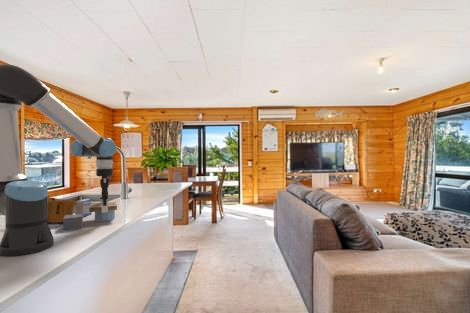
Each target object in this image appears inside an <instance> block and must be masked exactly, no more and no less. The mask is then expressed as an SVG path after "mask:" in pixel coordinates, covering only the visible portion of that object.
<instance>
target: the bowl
mask: <svg viewBox="0 0 470 313" xmlns="http://www.w3.org/2000/svg"><path fill="white" fill-rule="evenodd" d="M115 211H116V210H110V211H108V212H104V213H102V211H98V212H94V222H110V221H113V220H115V219H116V218H115V217H116V216H115Z"/></svg>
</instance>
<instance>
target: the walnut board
mask: <svg viewBox="0 0 470 313" xmlns="http://www.w3.org/2000/svg"><path fill="white" fill-rule="evenodd" d="M110 210H115V211H116V210H118V206H117V202H116V201H113V202H109V201H108V211H110ZM98 211H102V203H101V202H100V203H99V202H97V203H92V204H90V208H89V212H92V213H95V212H98Z"/></svg>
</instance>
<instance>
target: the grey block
mask: <svg viewBox="0 0 470 313" xmlns="http://www.w3.org/2000/svg"><path fill="white" fill-rule="evenodd" d="M62 223H63V225H62V226H63V227H62V228H63V231H67V229H68V230H75V229H77V230H78V229H83V223H84V217H83V214H75V213H74V214H73V215H65V217H64V218H63V222H62Z"/></svg>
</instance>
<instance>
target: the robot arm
mask: <svg viewBox="0 0 470 313" xmlns="http://www.w3.org/2000/svg"><path fill="white" fill-rule="evenodd" d="M22 103H23V104H24V105H25V106H27V107H31V108H32V107H33V108H35V109H36V110H37V111H39V113H41V114H42V115H43V116H45V117H47V118H48V119H49V120H50V121H51V122H53V123H54V124H55V125H56V126H58V127H60V128H61V129H62V130H63V131H65V132H66V133H67V134H69V135H70V137H71V136H72V137H73V138H74V141H72V142H71V143H70V148H69V149H70V154H71V155H72V156H74V157H79V158H82V157H85V158H87V157H88V158H91V157H94V158H95V157H96V160H95V161H96V162H95V164H96V165H95V168H97V169H96V171H95V174H96V175H95V176H97V177H101V178H100V179H99V180H100V182H99V183H100V188H101V192H100V193H101V197H99V198H100V199H99V200H101V202H100V203H102V213H104V212H108V203H109V190H108V188H109V183H110V180H109V178H108V177H111V176H113V175H114V171H113V168H114V167H113V165H114V164H115V161H114V160H113V157H114V155H115V153H116V152H117V145H116V143H115V141H113V139H112V138H110V137H103V136H101V135H100V134H99V133H98V132H97V131H96V130H94V129H93V128H92V127H91V126H90V125H88V123H87V122H85V121H84V120H83V119H81V117H79V116H78V115H77V114H75V113H74V112H73V110H71V109H70V108H69V107H67V106H66V105H65V104H64V103H63V102H61V101H60V100H59V99H58V98H57V97H55V96H54V95H53V94H52V93H51V92H50V87H49V86H46V84H45V83H43V82H42V81H41V80H40V79H39V78H38V77H36V76H35V75H33V74H32V73H31V72H29V71H27V70H26V69H24V68H22V67H19V66H18V65H14V64H8V63H7V64H6V63H4V64H2V63H1V64H0V215H4V216H5V217H4V218H5V223H4V224H5V230H4V232H3V234H2V237H1V240H0V256H3V257H4V256H5V257H16V256H23V255H24V256H25V255H30V254H34V253H39V252H43V251H45V250H47V249H49V248H51V247H52V246H54V244H55V243H54V240H55V238H54V235H53V233H52V231H51V228H50V226H49V222H48V197H49V191H48V185H47V184H46V183H45V182H43V181H38V180H28V176H27V175H25V174H23V172H22V160H21V148H20V135H19V120H18V111H19V110H20V109H21V108H22V106H23V105H22Z"/></svg>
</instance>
